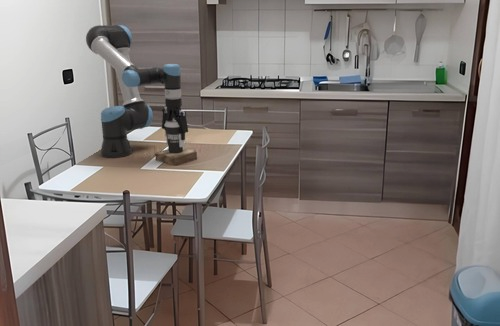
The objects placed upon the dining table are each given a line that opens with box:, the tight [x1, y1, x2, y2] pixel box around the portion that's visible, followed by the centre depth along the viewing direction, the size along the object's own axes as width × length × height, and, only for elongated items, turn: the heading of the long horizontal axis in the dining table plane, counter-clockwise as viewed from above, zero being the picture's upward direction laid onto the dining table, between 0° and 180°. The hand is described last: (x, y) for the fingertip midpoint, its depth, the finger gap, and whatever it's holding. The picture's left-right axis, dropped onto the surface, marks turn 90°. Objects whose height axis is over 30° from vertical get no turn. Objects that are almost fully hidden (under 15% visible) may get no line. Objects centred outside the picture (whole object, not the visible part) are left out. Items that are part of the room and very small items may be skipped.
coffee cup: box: [164, 118, 184, 153], centre depth 233 cm, size 10×10×15 cm
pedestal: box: [154, 147, 198, 166], centre depth 236 cm, size 14×14×4 cm
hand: (175, 145), depth 234 cm, fingers open, 8 cm apart
